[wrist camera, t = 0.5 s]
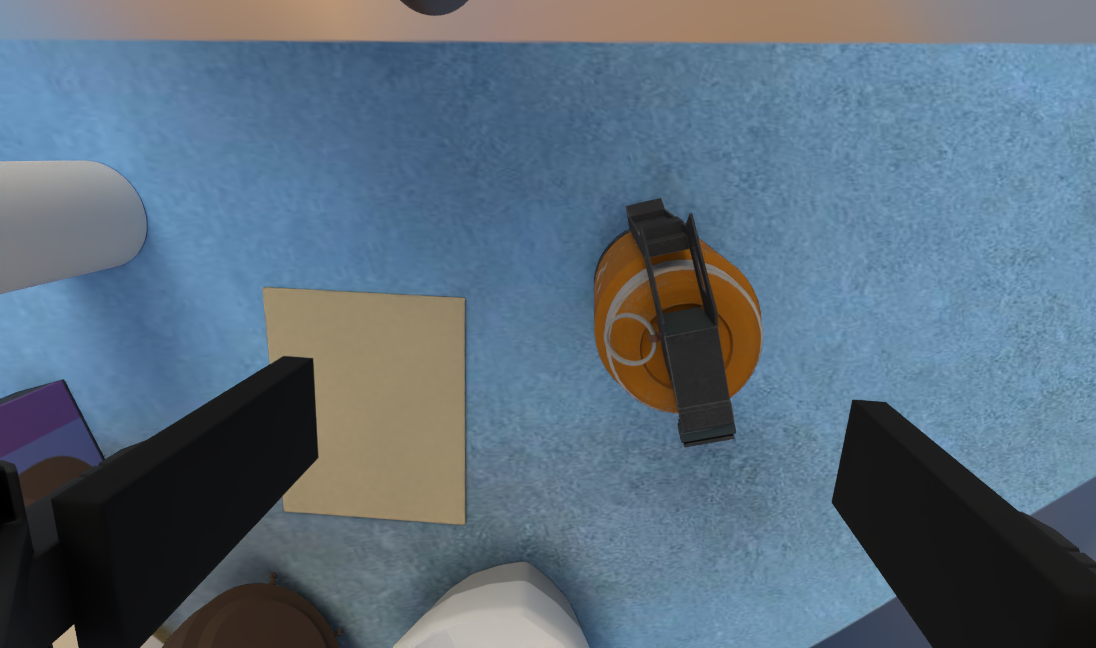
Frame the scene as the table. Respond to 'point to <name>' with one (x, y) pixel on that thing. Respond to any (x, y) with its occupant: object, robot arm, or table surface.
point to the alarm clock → (255, 621)
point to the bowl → (499, 613)
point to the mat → (378, 401)
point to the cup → (65, 221)
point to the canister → (676, 322)
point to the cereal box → (45, 439)
